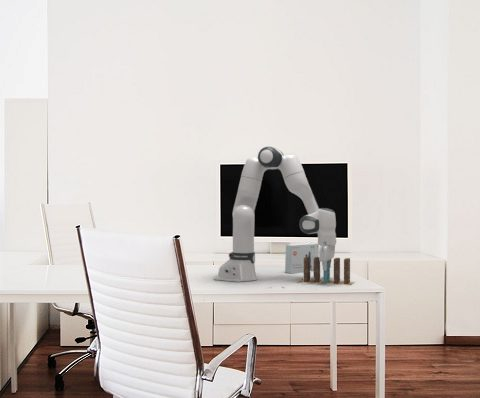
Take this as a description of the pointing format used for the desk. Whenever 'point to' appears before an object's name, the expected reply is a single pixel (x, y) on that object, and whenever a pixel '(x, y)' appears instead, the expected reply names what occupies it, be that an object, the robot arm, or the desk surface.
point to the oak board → (325, 283)
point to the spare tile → (326, 273)
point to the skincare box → (300, 256)
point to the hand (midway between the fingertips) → (326, 268)
